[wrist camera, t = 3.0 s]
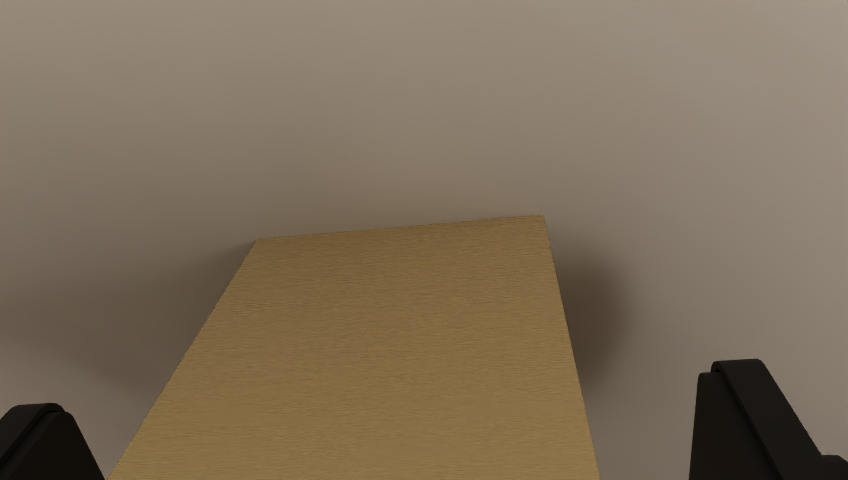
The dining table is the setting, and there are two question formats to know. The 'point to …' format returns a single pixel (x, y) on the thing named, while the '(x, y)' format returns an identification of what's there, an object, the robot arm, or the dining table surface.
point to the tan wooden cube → (378, 364)
